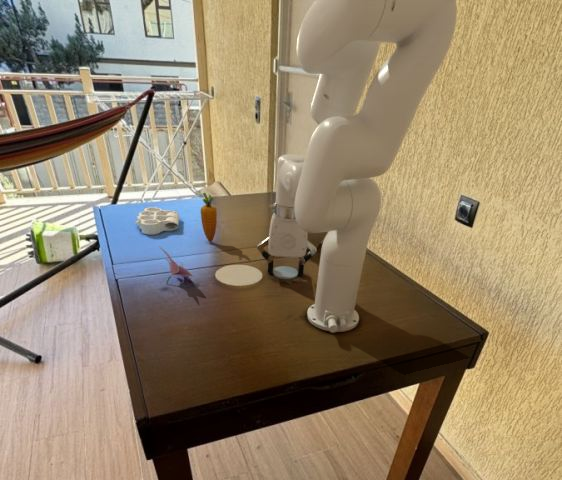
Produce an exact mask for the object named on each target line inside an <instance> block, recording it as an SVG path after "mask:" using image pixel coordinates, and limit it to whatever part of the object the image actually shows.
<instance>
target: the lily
mask: <svg viewBox="0 0 562 480" xmlns="http://www.w3.org/2000/svg"><path fill="white" fill-rule="evenodd" d="M159 249H160V250H161V251H162V252H163V253H164V254H165V255H166V256H167V258H165V260H166V261H167V262H169V270H170V274H169V276H168V278H167V280H166V283H165V285H168V283H169V281H170V279H171V277H172V276H182V277H184V278H186V279H188V280H189V281H190V282H192V283H194V281H193V280H192V279H191V278H190V277H193V275H192V273H191V272H190V271H189V270H187V269H186V268H185V267H184V263H181V261H180V262H179V264H178V263H176V261H175V260H174V259H172V258H171V256H170V254H168V252H167V251H165V250H164V248H162V247H160V246H159Z"/></svg>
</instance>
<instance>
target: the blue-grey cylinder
mask: <svg viewBox="0 0 562 480" xmlns="http://www.w3.org/2000/svg"><path fill="white" fill-rule="evenodd" d="M272 276H273V277H275V278H277V279H281V280H292V279H295V278H297V277H299V276H298V269H297V268H294V267H291V266H288V265H280V266H276V267H273V275H272Z"/></svg>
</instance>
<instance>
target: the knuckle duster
mask: <svg viewBox="0 0 562 480" xmlns="http://www.w3.org/2000/svg"><path fill="white" fill-rule="evenodd" d="M179 218H180V214H179V213H178V212H177V211H175V210H169V209H162V208H160V207H157V206H155V207H154V206H150V207H146V208H144V209H143V211H140V212H139V213H138V216H136V217H135V219H137V221H135V222H134V223H133V225H136V226H138V227H139V229H140V230H141V233H142V234H144V235H150V236H152V235H154V236H155V235H158V234H160V233H162V232H172V231H175V230H177V229H178V228H179V223H180V219H179Z"/></svg>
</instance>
